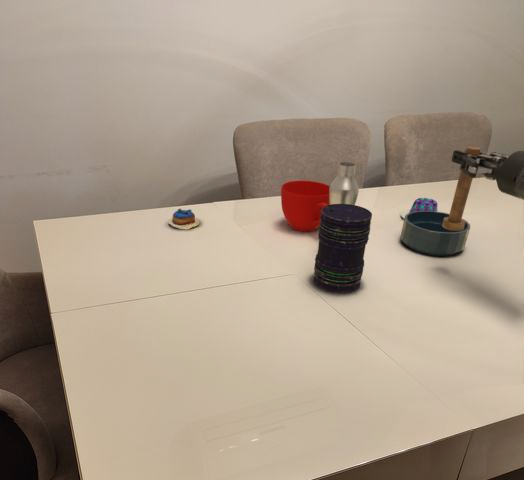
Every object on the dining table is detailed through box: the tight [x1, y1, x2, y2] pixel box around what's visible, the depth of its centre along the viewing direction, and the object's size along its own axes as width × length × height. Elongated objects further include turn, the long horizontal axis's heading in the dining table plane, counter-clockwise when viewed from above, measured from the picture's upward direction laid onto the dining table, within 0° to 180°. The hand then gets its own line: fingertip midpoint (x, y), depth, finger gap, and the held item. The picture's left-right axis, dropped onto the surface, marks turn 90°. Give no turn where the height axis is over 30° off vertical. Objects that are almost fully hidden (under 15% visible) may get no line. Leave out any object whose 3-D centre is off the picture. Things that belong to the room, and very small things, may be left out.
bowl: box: [399, 210, 471, 257], centre depth 122 cm, size 15×15×6 cm
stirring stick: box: [442, 145, 482, 231], centre depth 102 cm, size 4×4×16 cm
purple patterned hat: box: [400, 197, 438, 219], centre depth 137 cm, size 12×12×5 cm
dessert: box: [168, 208, 200, 230], centre depth 127 cm, size 8×7×6 cm
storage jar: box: [313, 204, 373, 294], centre depth 100 cm, size 10×10×15 cm
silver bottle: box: [329, 161, 360, 205], centre depth 111 cm, size 6×7×20 cm
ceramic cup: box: [280, 180, 330, 232], centre depth 125 cm, size 13×17×10 cm
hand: (459, 155), depth 100 cm, fingers closed on stirring stick, 2 cm apart
